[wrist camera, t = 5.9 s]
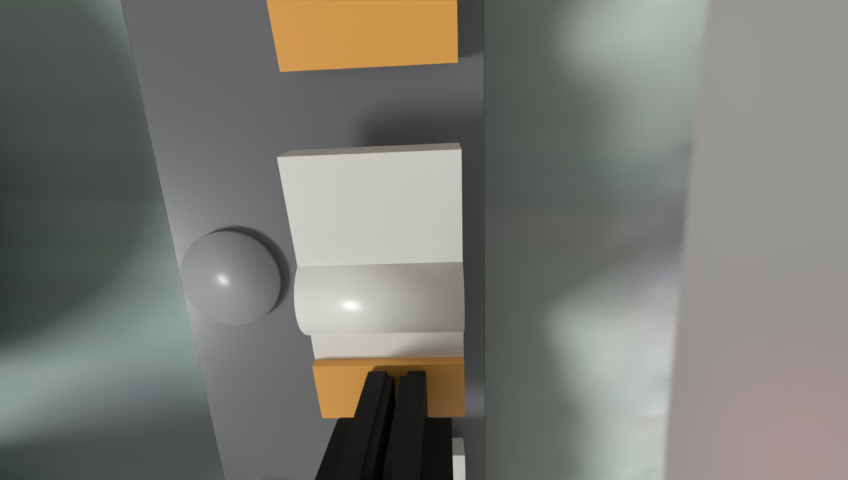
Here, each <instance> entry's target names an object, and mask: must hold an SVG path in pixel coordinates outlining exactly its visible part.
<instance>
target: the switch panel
mask: <svg viewBox="0 0 848 480" xmlns="http://www.w3.org/2000/svg"><path fill="white" fill-rule="evenodd" d="M121 4H122V9H123V13H124V18H125V23H126V27H127V32H128V36H129V41H130V46H131V50H132V55H133V59H134V64H135V69H136V73H137V78H138V82H139V87H140V92H141V96H142V101H143V105H144V110H145V115H146V119H147V124H148V129H149V133H150V138H151V142H152V147H153V152H154V156H155V161H156V165H157V170H158V175H159V179H160V184H161V188H162V193H163V198H164V202H165V207H166V211H167V216H168V221H169V225H170V230H171V234H172V239H173V244H174V248H175V253H176V257H177V262H178V267H179V271H180V277H181V283H182V286H183V290H184V294H185V299H186V304H187V308H188V313H189V317H190V322H191V327H192V331H193V336H194V340H195V345H196V350H197V354H198V359H199V363H200V368H201V373H202V377H203V382H204V386H205V391H206V396H207V400H208V405H209V409H210V414H211V419H212V423H213V428H214V432H215V437H216V442H217V446H218V451H219V455H220V460H221V465H222V469H223V474H224V478H225V480H315V478H316V475H317V472H318V470H319V467H320V464H321V462H322V459H323V456H324V454H325V451H326V448H327V446H328V443H329V441H330V438H331V435H332V433H333V430H334V427H335V425H336V422H337V420H338V419H339V418H322V415H321V410H320V404H319V399H318V394H317V389H316V384H315V379H314V374H313V368H312V366H313V363H314V361H315V357H314V351H313V346H312V341H311V336H310V335H305V334H304V333H303V332H302V331H301V330H300V328H299V325H298V322H297V319H296V314H295V307H294V282H295V275H296V270H297V261H296V256H295V251H294V246H293V240H292V235H291V230H290V224H289V219H288V214H287V209H286V203H285V198H284V193H283V187H282V182H281V177H280V172H279V166H278V161H277V157H278V156H280V155H282V154H284V153H286V152H288V151H290V150H301V149H324V148H347V147H370V146H394V145H417V144H440V143H459V144H460V147H461V156H462V250H463V275H464V301H465V327H464V332H463V344H464V384H465V417H452V438H463V442H464V452H465V480H485V322H484V0H457V32H458V63H441V64H422V65H403V66H384V67H365V68H346V69H327V70H308V71H289V72H280V70H279V65H278V59H277V54H276V49H275V43H274V38H273V33H272V27H271V22H270V17H269V11H268V6H267V1H266V0H121Z"/></svg>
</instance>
